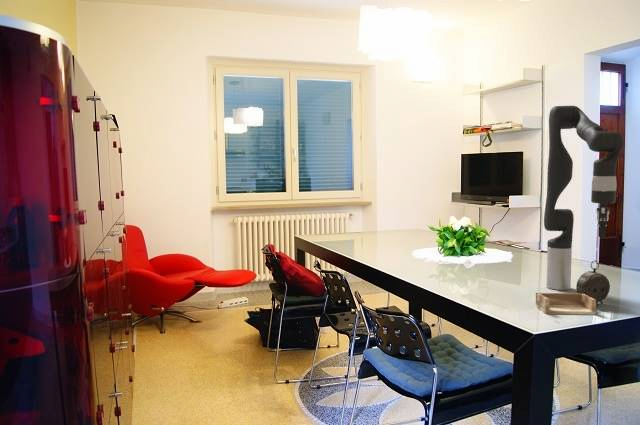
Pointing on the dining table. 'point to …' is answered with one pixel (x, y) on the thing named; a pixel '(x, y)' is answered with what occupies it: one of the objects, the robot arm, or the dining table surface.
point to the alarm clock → (593, 285)
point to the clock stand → (565, 303)
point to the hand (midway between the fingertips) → (601, 235)
